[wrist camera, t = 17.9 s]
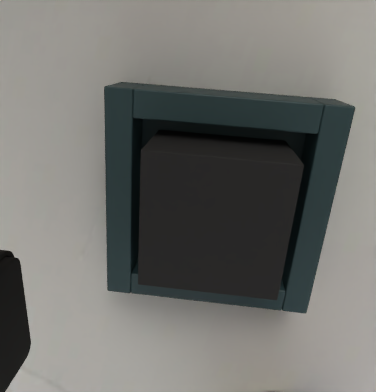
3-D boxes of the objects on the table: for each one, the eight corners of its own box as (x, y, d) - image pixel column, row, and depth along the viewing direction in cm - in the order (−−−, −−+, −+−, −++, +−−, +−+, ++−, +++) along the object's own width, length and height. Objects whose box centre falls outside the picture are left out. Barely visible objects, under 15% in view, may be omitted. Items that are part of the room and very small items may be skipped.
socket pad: (120, 263, 21) (107, 291, 18) (120, 81, 17) (103, 85, 14) (296, 283, 20) (306, 314, 18) (336, 99, 16) (356, 106, 14)
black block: (153, 240, 19) (137, 285, 15) (158, 129, 17) (140, 149, 13) (266, 252, 19) (277, 301, 15) (286, 140, 17) (304, 164, 13)
